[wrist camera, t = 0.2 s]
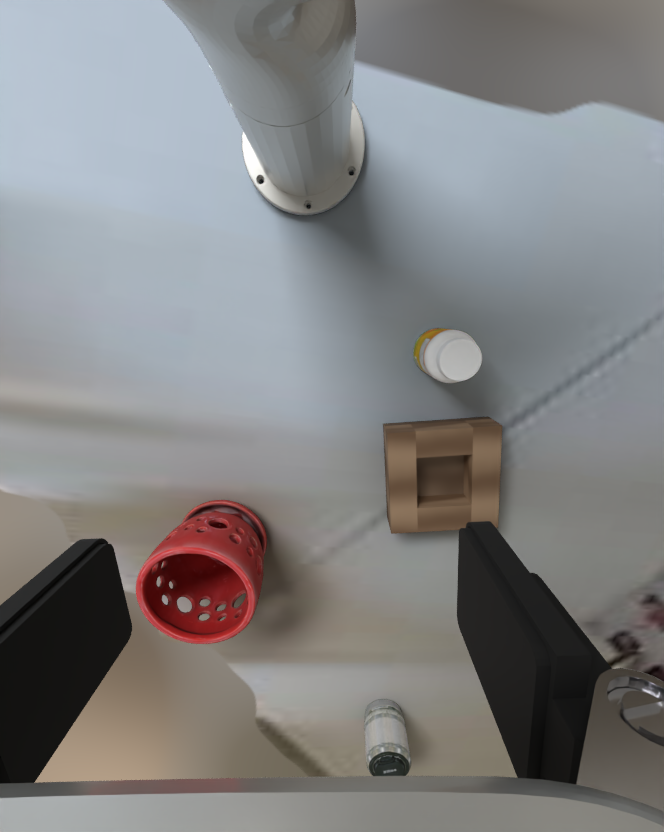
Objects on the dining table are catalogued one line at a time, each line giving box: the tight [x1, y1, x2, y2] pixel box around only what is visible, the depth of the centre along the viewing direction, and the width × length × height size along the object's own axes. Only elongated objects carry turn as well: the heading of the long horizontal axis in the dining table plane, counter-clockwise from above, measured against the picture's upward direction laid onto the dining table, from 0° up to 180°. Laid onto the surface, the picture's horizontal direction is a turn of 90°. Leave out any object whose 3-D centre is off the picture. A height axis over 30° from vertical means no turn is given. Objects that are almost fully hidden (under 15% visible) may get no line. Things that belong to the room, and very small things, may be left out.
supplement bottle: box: [413, 328, 482, 383], centre depth 39 cm, size 5×5×10 cm
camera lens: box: [364, 699, 411, 776], centre depth 54 cm, size 6×6×8 cm
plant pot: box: [136, 500, 267, 644], centre depth 45 cm, size 13×13×12 cm
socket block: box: [383, 417, 502, 534], centre depth 45 cm, size 13×13×4 cm
